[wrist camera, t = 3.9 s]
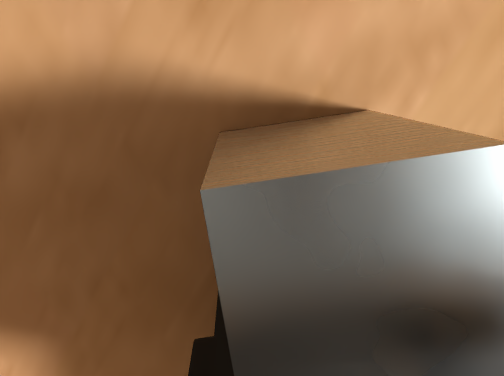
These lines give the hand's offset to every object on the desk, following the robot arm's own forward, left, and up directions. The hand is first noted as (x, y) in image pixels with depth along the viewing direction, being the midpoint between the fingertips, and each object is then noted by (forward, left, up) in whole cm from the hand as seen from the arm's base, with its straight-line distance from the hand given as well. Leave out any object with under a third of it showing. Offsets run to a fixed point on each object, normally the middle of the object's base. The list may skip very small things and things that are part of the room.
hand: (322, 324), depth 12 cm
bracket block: (0, 0, -1) cm, 1 cm away
